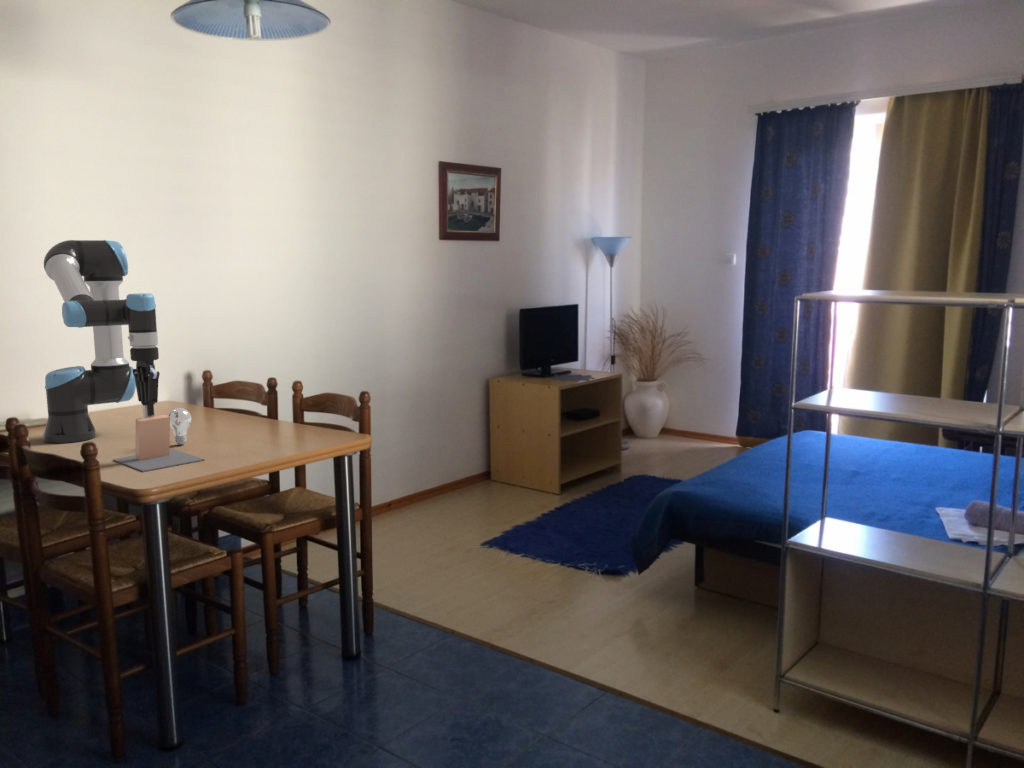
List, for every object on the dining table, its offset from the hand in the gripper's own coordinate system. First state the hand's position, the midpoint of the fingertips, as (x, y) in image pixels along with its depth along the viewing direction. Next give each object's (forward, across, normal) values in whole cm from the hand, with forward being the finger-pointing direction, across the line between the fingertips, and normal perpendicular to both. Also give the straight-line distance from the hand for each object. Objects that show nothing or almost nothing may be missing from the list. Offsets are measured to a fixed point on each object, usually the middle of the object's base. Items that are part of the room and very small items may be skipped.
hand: (149, 426), depth 242 cm
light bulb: (+10, -10, +14) cm, 20 cm away
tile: (+9, 0, 0) cm, 9 cm away
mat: (+10, +4, 0) cm, 11 cm away
